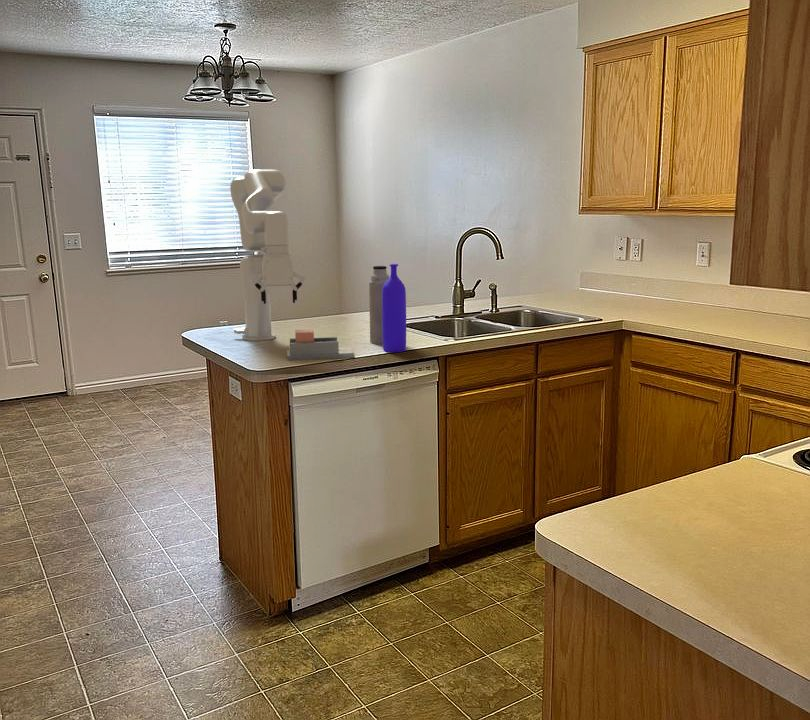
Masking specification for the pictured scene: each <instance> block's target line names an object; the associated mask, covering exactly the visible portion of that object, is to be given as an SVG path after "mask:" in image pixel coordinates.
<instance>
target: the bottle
mask: <svg viewBox="0 0 810 720" xmlns="http://www.w3.org/2000/svg"><path fill="white" fill-rule="evenodd" d="M398 266H399V264H398V263H389V267H390V275H389V279H388V280H387V281H386V283H385V284H384V286H383V290H382V331H383V344H382V348H383V349H382V350H383V352H386V353H403V352H405V351H406V350H407V297H406V296H407V295H406V294H407V291H406V286H405V284H404V282H403V281H402V280H401V279H400V278H399V277H398V271H397V268H398Z"/></svg>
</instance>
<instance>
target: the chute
mask: <svg viewBox="0 0 810 720" xmlns="http://www.w3.org/2000/svg"><path fill="white" fill-rule="evenodd" d="M286 352H287V353H286V360H287V361H302V360H303V361H307V360H330V359H333V360H334V359H335V360H337V359H354V358H355V353H354V350H353V348H352V347H339V341H338V336H330V337H329V336H328V337H325V336H324V337H322V336H321V337H314V342H301V343H296V337H295V338H294V337H293V338H289V349H287V351H286Z"/></svg>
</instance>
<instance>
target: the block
mask: <svg viewBox="0 0 810 720" xmlns="http://www.w3.org/2000/svg"><path fill="white" fill-rule="evenodd" d="M294 331H295V333H294V335H295V338H296V343H301V342H314V338H315V335H314V334H315V333H314V329H295V330H294Z"/></svg>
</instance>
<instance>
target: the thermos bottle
mask: <svg viewBox="0 0 810 720" xmlns="http://www.w3.org/2000/svg"><path fill="white" fill-rule="evenodd" d="M372 269H373V272H372V274H371V276H370V281H369V282H368V291H369V293H368V294H369V295H368V297H369V298H368V299H369V300H368V301H369V304H368V305H369V343H370V344H375V345H383V331H382V290H383V286H384V284H385V283H386V281H387V280H388V279H389V278H390V275H389V274H387V266H386V265H375V266H372Z"/></svg>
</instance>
